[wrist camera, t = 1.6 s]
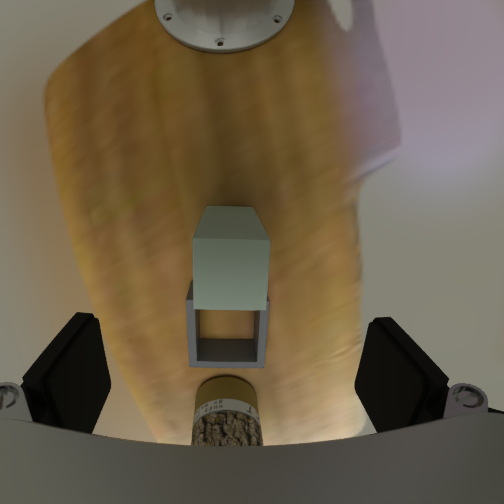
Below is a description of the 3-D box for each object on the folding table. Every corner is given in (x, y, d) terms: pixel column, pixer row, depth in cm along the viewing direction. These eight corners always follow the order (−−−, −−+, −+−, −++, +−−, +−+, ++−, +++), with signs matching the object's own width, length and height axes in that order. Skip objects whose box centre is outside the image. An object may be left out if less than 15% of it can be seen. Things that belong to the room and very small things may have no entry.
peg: (206, 205, 28) (192, 238, 16) (252, 206, 28) (270, 240, 17) (206, 249, 29) (193, 309, 18) (250, 250, 29) (265, 310, 18)
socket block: (190, 281, 30) (186, 299, 26) (264, 283, 30) (269, 301, 26) (192, 344, 32) (189, 366, 28) (259, 345, 32) (264, 367, 28)
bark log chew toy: (197, 415, 35) (189, 614, 11) (194, 372, 33) (176, 603, 9) (254, 416, 35) (281, 612, 11) (257, 373, 33) (296, 601, 9)
